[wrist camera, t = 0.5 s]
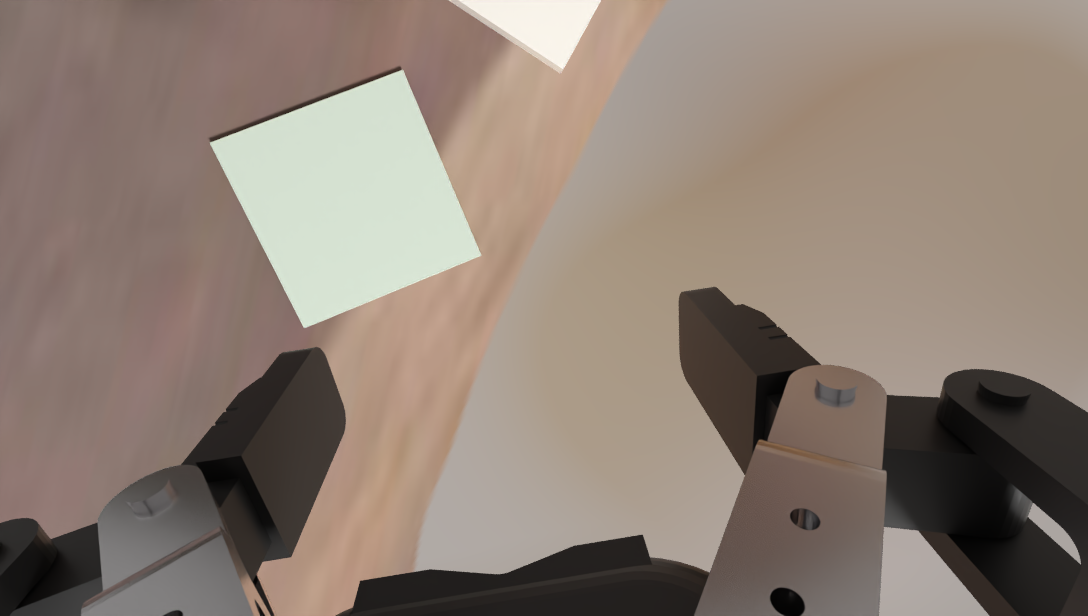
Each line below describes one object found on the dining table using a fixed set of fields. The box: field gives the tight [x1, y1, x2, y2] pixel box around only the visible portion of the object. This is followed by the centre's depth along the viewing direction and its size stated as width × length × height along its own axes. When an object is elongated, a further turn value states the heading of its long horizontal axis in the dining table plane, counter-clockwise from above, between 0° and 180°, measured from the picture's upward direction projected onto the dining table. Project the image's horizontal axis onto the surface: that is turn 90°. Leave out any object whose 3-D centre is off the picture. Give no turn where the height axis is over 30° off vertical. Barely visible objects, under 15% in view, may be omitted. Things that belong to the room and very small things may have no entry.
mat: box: [210, 70, 481, 328], centre depth 34 cm, size 13×13×1 cm
